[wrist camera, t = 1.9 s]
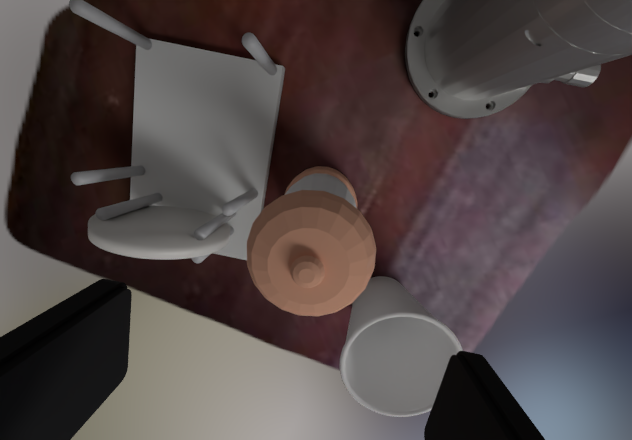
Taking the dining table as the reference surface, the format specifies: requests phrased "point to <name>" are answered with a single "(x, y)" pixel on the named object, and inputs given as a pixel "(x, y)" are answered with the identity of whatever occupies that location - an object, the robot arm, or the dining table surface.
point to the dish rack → (190, 149)
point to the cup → (394, 351)
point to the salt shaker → (312, 245)
